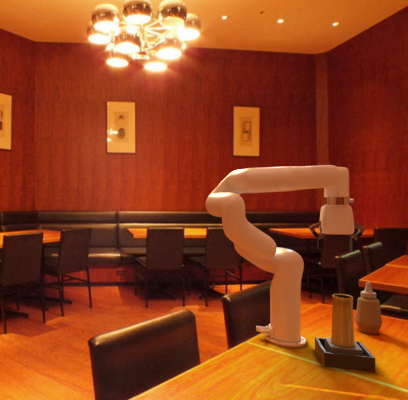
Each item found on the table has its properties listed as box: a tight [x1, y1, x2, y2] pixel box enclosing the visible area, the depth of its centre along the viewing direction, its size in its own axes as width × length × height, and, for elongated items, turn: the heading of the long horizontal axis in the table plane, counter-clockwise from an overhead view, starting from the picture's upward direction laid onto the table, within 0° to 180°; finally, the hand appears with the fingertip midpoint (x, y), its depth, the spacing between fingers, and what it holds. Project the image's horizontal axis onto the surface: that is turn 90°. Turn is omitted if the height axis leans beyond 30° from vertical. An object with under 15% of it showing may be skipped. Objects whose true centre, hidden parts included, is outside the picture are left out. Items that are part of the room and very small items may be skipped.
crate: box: [314, 337, 376, 374], centre depth 112 cm, size 13×13×4 cm
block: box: [324, 337, 363, 356], centre depth 112 cm, size 8×8×5 cm
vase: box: [330, 293, 355, 347], centre depth 112 cm, size 6×6×14 cm
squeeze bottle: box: [354, 281, 383, 335], centre depth 137 cm, size 8×8×18 cm
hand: (336, 250), depth 133 cm, fingers open, 9 cm apart
